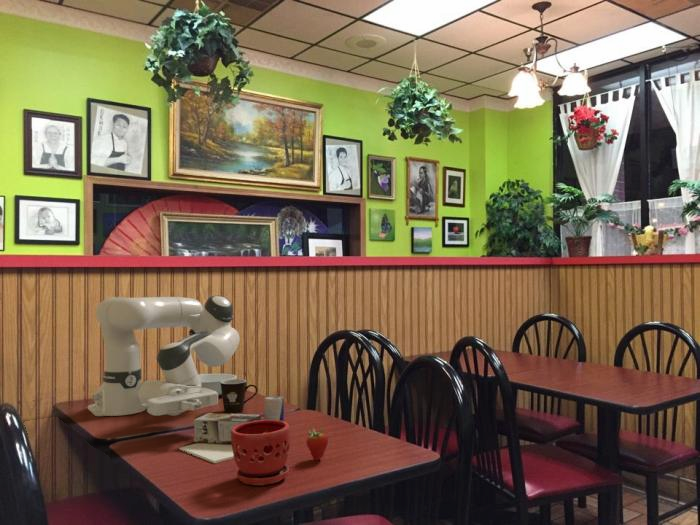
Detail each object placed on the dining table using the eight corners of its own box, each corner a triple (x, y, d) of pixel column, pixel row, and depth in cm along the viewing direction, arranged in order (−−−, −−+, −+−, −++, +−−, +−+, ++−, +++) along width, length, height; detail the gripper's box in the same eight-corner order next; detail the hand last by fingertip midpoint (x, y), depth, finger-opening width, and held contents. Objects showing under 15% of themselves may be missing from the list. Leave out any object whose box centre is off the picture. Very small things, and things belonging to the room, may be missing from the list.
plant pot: (267, 465, 144) (267, 416, 145) (302, 478, 135) (301, 425, 135) (220, 479, 135) (219, 426, 136) (253, 494, 126) (252, 436, 126)
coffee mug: (215, 413, 200) (215, 383, 201) (230, 407, 208) (229, 378, 209) (245, 415, 196) (245, 385, 196) (259, 409, 204) (258, 380, 204)
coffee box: (193, 443, 163) (248, 446, 159) (193, 419, 163) (248, 421, 159) (209, 434, 171) (262, 437, 167) (209, 412, 172) (262, 414, 168)
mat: (179, 449, 159) (179, 447, 159) (224, 438, 169) (224, 436, 169) (214, 463, 147) (214, 461, 147) (261, 450, 157) (261, 448, 157)
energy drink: (287, 439, 167) (286, 396, 167) (279, 444, 162) (278, 400, 162) (270, 437, 169) (269, 395, 169) (261, 443, 164) (260, 399, 164)
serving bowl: (247, 391, 236) (247, 374, 237) (214, 402, 217) (214, 383, 217) (204, 388, 245) (204, 371, 245) (169, 398, 226) (169, 380, 226)
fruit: (304, 457, 150) (304, 425, 150) (325, 455, 152) (325, 423, 152) (309, 463, 145) (308, 430, 146) (330, 461, 147) (330, 428, 147)
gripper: (138, 394, 168) (162, 400, 158) (202, 383, 182) (228, 389, 172) (138, 416, 168) (162, 424, 158) (203, 404, 182) (228, 411, 172)
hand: (197, 406), depth 165 cm, fingers closed
